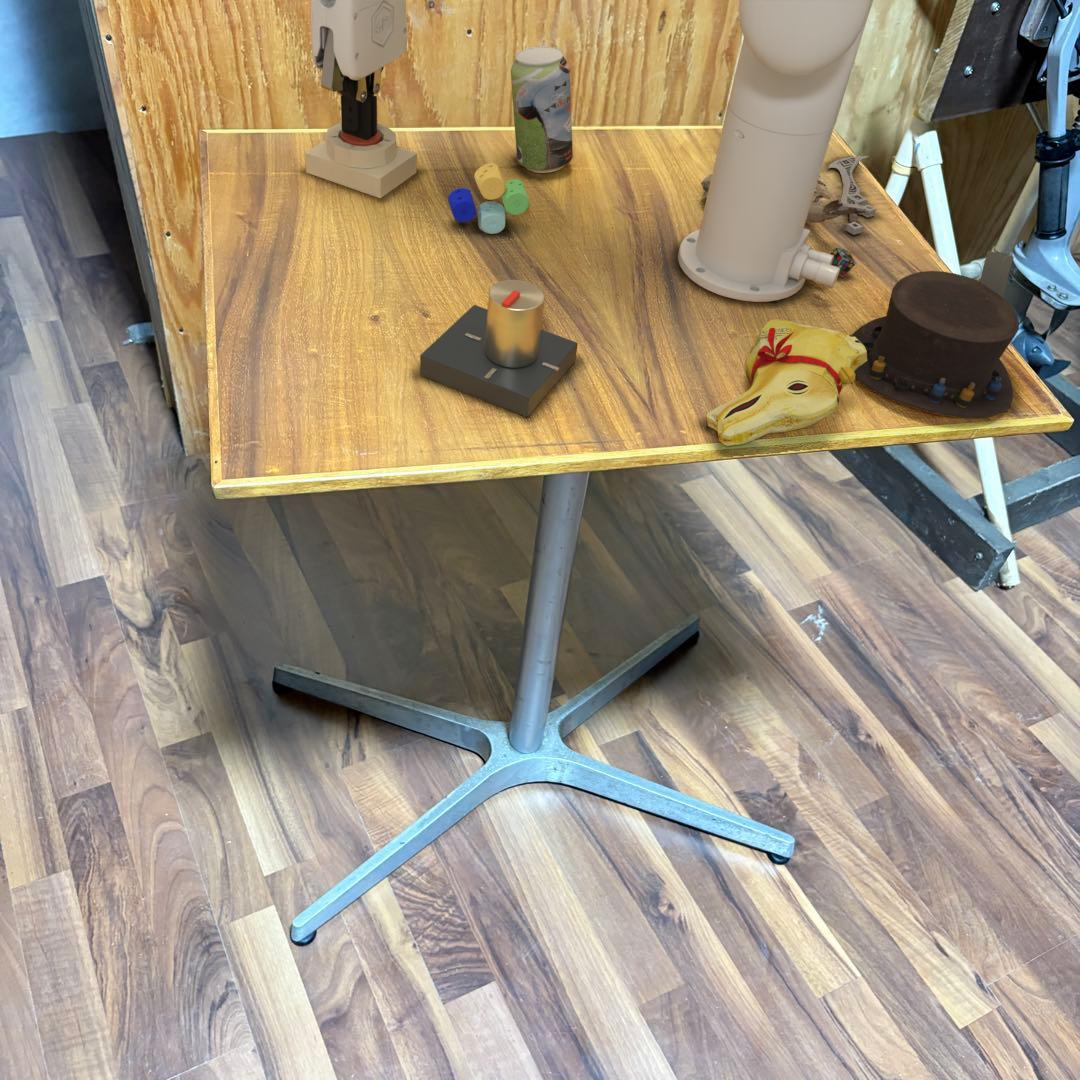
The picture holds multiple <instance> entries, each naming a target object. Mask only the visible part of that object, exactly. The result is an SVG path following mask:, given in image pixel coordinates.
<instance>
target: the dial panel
mask: <svg viewBox="0 0 1080 1080" xmlns="http://www.w3.org/2000/svg"><path fill="white" fill-rule="evenodd" d="M487 312H488V308H484V307H483V306H479V305H476V304H473V305H472V306H471V307H470V308H469V309H467V311H466V312H465V313H463V315H461V316H460V317H459V318H458V319H457V320H456V321H455V322H454V323H453V324H452V325H451V326H450V327H448V329H447V330H445V331H444V332H443V333H442V334H441V335H440V336H439V337H438V338H436V339H435V341H434V342H433V343H431V344H430V346H429V347H427V348H426V349H425V350H424V351H423V352H422V353H421V354H420V355H419V376H422V377H424V378H427V379H430V380H432V381H435V382H437V383H439V384H443V385H444V386H448V387H449V388H453V389H455V390H457V391H459V392H462V393H465V394H468V395H471V396H473V397H475V398H477V399H481V400H482V401H485V402H488V403H491V404H493V405H496V406H498V407H500V408H503V409H506V410H508V411H511V412H513V413H516V414H518V415H521V416H524V417H526V418H528V417H529V416H530V415H531V414H532V413H533V411H534V410H535V408H537V407H538V406H539V404H541V402H542V401H543V400H544V398H546V396H547V395H548V394H549V393H550V391H552V389H553V388H554V387H555V386H556V385H557V384H558V382H559V381H560V380H561V379H562V377H563V376H564V375H565V374H566V373H567V372H568V371H569V370H570V368H571V367H572V366H573V365H574V364H575V363H576V358H577V350H578V342H576V341H574V340H572V339H568V338H566V337H563V336H560V335H558V334H555V333H552V332H550V331H547V330H545V329H542V328H541V334H540V342H539V351H538V357H537V359H536V360H535V361H534V362H533V363H532V364H530V365H528V366H524V367H519V368H510V367H504V366H501V365H498V364H496V363H494V362H492V361H491V360H490V359H489V358H488V357H487V356H486V353H485V339H486V325H487Z"/></svg>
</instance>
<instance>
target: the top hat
mask: <svg viewBox="0 0 1080 1080" xmlns="http://www.w3.org/2000/svg"><path fill="white" fill-rule="evenodd" d="M1013 260H1014V256H1013V255H1009V254H1006V255H1005V254H1003V253H999V252H996V251H991V250H987V253H986V256H985V260H984V263H983V266H982V270H981V274H980V280H977V279H975V278H971V277H970V276H966V275H963V274H959V273H954V272H948V271H940V270H939V271H938V270H927V271H925V270H924V271H918V272H914V273H910V274H908V275H905V276H904V277H901V279H899V280H898V281H897V282H896V283H895V284H894V286H893V287H892V289H891V294H890V297H889V298H890V299H889V302H888V307H887V311H886V315H885V316H881V317H878V318H875V319H872V320H870V321H869V322H866V323H865V324H862V325H861V326H860V327H859V328H857V329H856V330H855V331H853V333H852V334H851V335H852V336H855V337H856V338H857V339H858V340H859V341H860V342H861V343H862V344H863V345H864V346H865V348H866V351H867V361H866V362H865V363H863V364H862V365H861V366H859V367H858V368H857V369H856V370H855V371H854V373H855V375H856V376H855V380H856V381H857V382H859V383H860V384H861V385H862V386H864V387H865V388H867V389H869V390H870V391H872V392H874V393H875V394H877V395H879V396H881V397H884V398H886V399H888V400H890V401H892V402H895V403H898V404H901V405H903V406H907V407H909V408H912V409H916V410H919V411H923V412H927V413H930V414H934V415H939V416H945V417H952V418H960V419H986V418H992V417H995V416H997V415H1001V414H1002V413H1004V412H1006V410H1008V409H1009V408H1010V405H1011V403H1012V401H1013V399H1014V388H1013V384H1012V380H1011V379H1012V378H1011V377H1010V375H1009V372H1008V370H1007V368H1006V365H1004V363H1003V362H1002V360H1001V357H1002V356H1003V354H1004V353H1005V351H1006V350H1007V348H1008V347H1009V345H1010V344H1011V342H1012V341H1013V339H1014V338H1015V336H1016V335H1017V333H1018V332H1019V329H1020V320H1019V317H1018V314H1017V312H1016V311H1015V309H1014V307H1013V305H1012V304H1011V303H1010V302H1009V301H1008V300H1007V299H1006V298H1005V295H1006V288H1007V283H1008V278H1009V275H1010V271H1011V267H1012V264H1013Z"/></svg>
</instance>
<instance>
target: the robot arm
mask: <svg viewBox="0 0 1080 1080" xmlns="http://www.w3.org/2000/svg"><path fill="white" fill-rule="evenodd" d="M873 2H874V0H738V18H739V25H740V29H741V33H742V36H743V40H742V44H741V48H740V52H739V56H738V61H737V64H736V69H735V72H734V77H733V81H732V86H731V89H730V95H729V99H728V101H727V106H726V111H725V115H724V118H723V124H722V129H721V132H720V136H719V137H720V138H719V142H718V147H717V151H716V154H715V159H714V164H713V169H712V173H711V174H712V177H711V182H710V186H709V191H708V195H707V198H706V200H705V205H704V209H703V213H702V218H701V223H700V226H699V228H698V229H696V230H695V231H693V232H690V233H689V234H687V235H686V236H685V237H684V238H683V239H682V241H681V242H680V245H679V249H678V253H677V261H678V265H679V267H680V268H681V270H682V272H683V273H684V274H685V275H686V276H687V277H688V278H689V279H690V280H691V281H692V282H694V283H695V284H696V285H698V286H699V287H701V288H703V289H705V290H707V291H709V292H711V293H713V294H715V295H718V296H721V297H725V298H728V299H732V300H736V301H742V302H751V303H752V302H754V303H768V302H776V301H780V300H783V299H786V298H790V297H791V296H793V295H795V294H797V293H798V292H799V291H800V290H801V289H802V288H803V287H804V284H805V283H806V279H808V280H810V281H813V282H814V283H816V284H819V285H822V286H826V287H828V288H832V289H833V288H834V286H835V285H836V282H837V279H838V278H839V272H840V268H839V267H836V266H833V265H831V264H832V261H833V258H834V255H831V254H830V253H827V252H824V251H819V250H816V249H813V248H812V245H810V244H807V243H808V239H809V237H810V234H811V230H810V229H807V228H805V225H806V223H807V222H806V219H807V216H808V212H809V209H810V206H811V202H812V199H813V195H814V192H815V191H816V190H817V186H818V183H817V182H818V180H819V179H820V177H819V176H821V173H822V172H821V171H822V170H823V165H824V162H825V158H826V155H827V152H828V148H829V145H830V141H831V139H832V136H833V131H834V128H835V126H836V123H837V120H838V117H839V113H840V110H841V107H842V105H843V100H844V96H845V93H846V90H847V87H848V85H849V84H848V83H849V80H850V77H851V74H852V70H853V67H854V64H855V61H856V58H857V57H856V56H857V53H858V50H859V47H860V44H861V41H862V37H863V34H864V31H865V29H866V24H867V21H868V18H869V15H870V12H871V9H872V6H873ZM407 10H408V9H407V0H310V41H311V42H310V43H311V44H310V45H311V53H312V54H311V55H312V59H313V62H314V65H315V67H316V68H317V69H319V70H321V71H322V73H321V82H320V85H321V88H322V89H324V90H326V91H327V90H328V91H331V92H336V93H337V95H339V96H340V115H341V116H340V117H341V119H340V120H341V122H340V123H342V131H343V132H344V133H347V134H350V135H352V136H355V137H358V138H361V139H364V140H368V139H369V138H371V136H374V135H376V134H377V123H378V96H377V95H378V94H379V93H380V91H381V82H382V73H383V71H384V68H385V67H386V66H388V65H389V64H391V63H392V62H394V61H396V60H398V59H399V58H400V57H402V55H404V53H405V52H406V49H407V47H408V45H407V44H408V13H407Z"/></svg>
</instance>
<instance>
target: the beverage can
mask: <svg viewBox="0 0 1080 1080" xmlns="http://www.w3.org/2000/svg"><path fill="white" fill-rule="evenodd" d="M514 58H515V60H514V62H513V63H512V65H511V68H510V81H511V91H512V92H511V94H512V95H511V96H512V109H513V123H514V137H515V149H516V151H515V152H516V160H517V162H518V164H519V165H520V166H522V167H524V168H525V169H526V170H528V171H529V172H533V173H536V174H537V173H539V174H549V173H554V172H558V171H560V170H561V169H563V168H564V167H565V166H566V165H567V164H569V163H570V162H571V161H572V159H573V156H574V151H573V125H572V124H573V123H572V121H573V120H572V97H571V96H572V94H571V70H570V69H571V67H570V65H569V62H568V61H567V59H566V57H564V51H563V50H561V49H560V48H557V47H554V46H547V45H546V46H545V45H540V46H539V45H538V46H531V47H527V48H524V49H521V50H519V51H518V52H516V54H515V56H514Z"/></svg>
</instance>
